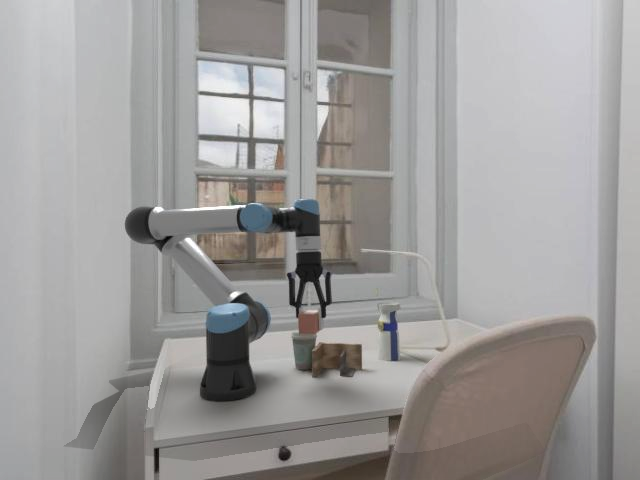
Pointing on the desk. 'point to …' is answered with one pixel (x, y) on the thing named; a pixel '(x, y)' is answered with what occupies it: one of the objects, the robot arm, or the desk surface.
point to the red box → (308, 322)
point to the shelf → (337, 358)
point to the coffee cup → (303, 349)
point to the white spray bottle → (388, 331)
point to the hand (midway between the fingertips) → (311, 328)
